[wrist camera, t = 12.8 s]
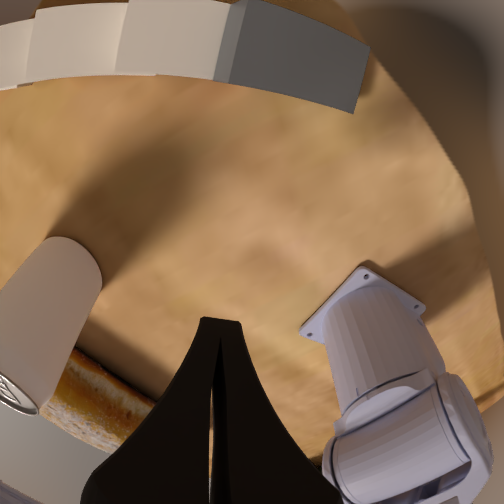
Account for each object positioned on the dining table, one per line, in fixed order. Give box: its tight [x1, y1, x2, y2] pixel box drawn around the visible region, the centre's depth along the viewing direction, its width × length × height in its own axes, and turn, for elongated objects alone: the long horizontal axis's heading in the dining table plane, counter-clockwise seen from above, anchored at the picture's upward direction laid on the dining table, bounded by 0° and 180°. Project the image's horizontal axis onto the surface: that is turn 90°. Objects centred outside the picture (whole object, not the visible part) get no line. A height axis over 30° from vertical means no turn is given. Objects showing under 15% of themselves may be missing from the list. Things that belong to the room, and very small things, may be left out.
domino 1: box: [0, 18, 56, 89], centre depth 9 cm, size 2×4×7 cm
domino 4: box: [213, 0, 371, 114], centre depth 12 cm, size 2×4×7 cm
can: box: [0, 237, 102, 416], centre depth 16 cm, size 6×6×12 cm
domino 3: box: [114, 0, 231, 80], centre depth 11 cm, size 2×4×7 cm
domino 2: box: [25, 3, 155, 82], centre depth 10 cm, size 2×4×7 cm
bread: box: [39, 347, 156, 454], centre depth 28 cm, size 13×26×8 cm, turn 36°
